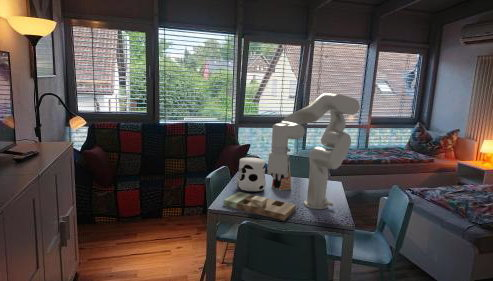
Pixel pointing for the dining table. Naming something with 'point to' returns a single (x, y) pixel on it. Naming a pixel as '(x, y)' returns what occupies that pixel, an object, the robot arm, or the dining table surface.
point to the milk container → (251, 175)
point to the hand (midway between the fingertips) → (277, 187)
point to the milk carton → (284, 183)
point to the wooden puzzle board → (271, 209)
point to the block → (258, 201)
